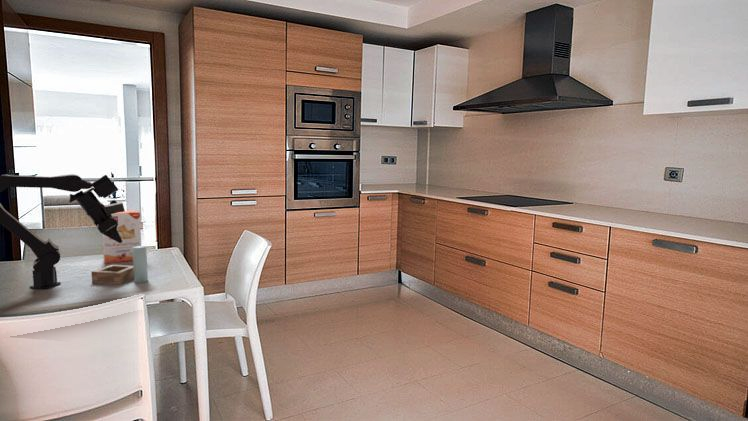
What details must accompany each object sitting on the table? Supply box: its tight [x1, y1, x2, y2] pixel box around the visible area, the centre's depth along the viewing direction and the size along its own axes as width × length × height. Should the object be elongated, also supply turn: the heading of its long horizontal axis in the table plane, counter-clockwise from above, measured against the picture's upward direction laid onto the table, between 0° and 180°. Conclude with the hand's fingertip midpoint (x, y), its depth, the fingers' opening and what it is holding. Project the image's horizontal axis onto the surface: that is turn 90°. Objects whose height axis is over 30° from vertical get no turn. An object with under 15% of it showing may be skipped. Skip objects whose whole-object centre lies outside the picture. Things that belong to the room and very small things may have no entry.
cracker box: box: [101, 210, 142, 264], centre depth 196 cm, size 14×6×21 cm, turn 124°
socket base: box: [91, 264, 134, 285], centre depth 169 cm, size 10×10×4 cm
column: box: [132, 245, 149, 284], centre depth 168 cm, size 4×4×12 cm
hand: (119, 240), depth 171 cm, fingers open, 9 cm apart
